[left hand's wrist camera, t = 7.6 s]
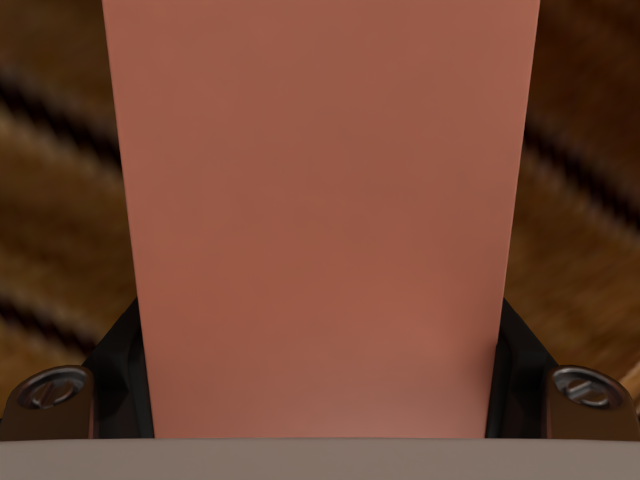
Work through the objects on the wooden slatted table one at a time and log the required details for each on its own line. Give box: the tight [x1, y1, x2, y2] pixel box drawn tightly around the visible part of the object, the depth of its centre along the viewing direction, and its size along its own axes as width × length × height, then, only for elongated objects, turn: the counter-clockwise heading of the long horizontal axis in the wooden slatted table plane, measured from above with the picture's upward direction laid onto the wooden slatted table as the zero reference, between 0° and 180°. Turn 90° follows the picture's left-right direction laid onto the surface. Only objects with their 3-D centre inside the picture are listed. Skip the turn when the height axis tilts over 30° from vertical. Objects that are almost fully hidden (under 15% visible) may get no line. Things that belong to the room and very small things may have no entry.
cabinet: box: [102, 0, 540, 438], centre depth 11 cm, size 20×6×9 cm, turn 0°
